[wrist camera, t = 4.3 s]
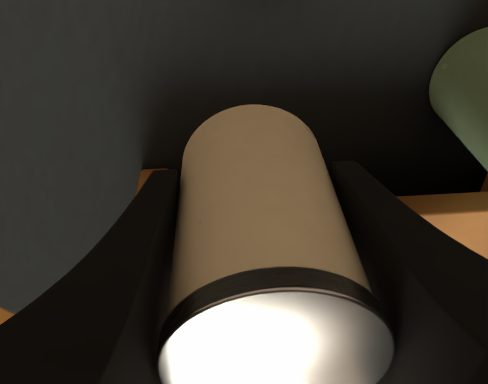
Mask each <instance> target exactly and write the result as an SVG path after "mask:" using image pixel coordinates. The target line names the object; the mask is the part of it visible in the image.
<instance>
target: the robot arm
mask: <svg viewBox="0 0 488 384" xmlns="http://www.w3.org/2000/svg"><path fill="white" fill-rule="evenodd" d="M330 178H331V181H332V184H333V187H334V189H335V192H336V195H337V198H338V200H339V203H340V206H341V208H342V211H343V214H344V217H345V219H346V222H347V225H348V228H349V230H350V233H351V236H352V238H353V241H354V244H355V247H356V249H357V252H358V255H359V258H360V260H361V263H362V266H363V268H364V271H365V274H366V277H367V279H368V282H369V285H370V288H371V290H372V293H373V295H374V296H375V297H376V298H377V299H378V301H379V302H380V303H381V304H382V306H383V308H384V310H385V312H386V314H387V317H388V320H389V322H390V325H391V328H392V330H393V334H394V338H395V353H394V358H393V361H392V363H391V365H390V368H389V369H388V371H387V372H386V374H385V375H384V376H383V378H382V379H381V380H380V381H379V382H378V383H377V384H488V259H487V258H485V257H483V256H481V255H480V254H478V253H476V252H474V251H473V250H471V249H469V248H468V247H466V246H464V245H463V244H461V243H460V242H458V241H456V240H455V239H453V238H452V237H450V236H448V235H447V234H445V233H444V232H442V231H441V230H439V229H438V228H436V227H435V226H434V225H432V224H431V223H430V222H428V221H427V220H426V219H424V218H423V217H421V216H420V215H419V214H417V213H416V212H415V211H413V210H412V209H411V208H410V207H408V206H407V205H406V204H405V203H403V202H402V201H401V200H400V199H398V198H397V197H396V196H395V195H394V194H393V193H391V192H390V191H389V190H388V189H387V188H386V187H384V186H383V185H382V184H381V183H380V182H379V181H378V180H376V179H375V178H374V177H373V176H372V175H371V174H370V173H369V172H367V171H366V170H365V169H364V168H363V167H362V166H361V165H359V164H358V163H357V162H356V161H355V160H352V161H332V165H331V173H330ZM179 190H180V187H179V180H178V173H177V169H169V170H154V171H153V172H152V173H151V174H150V175H149V177H148V178H147V180H146V181H145V183H144V184H143V186H142V187H141V189H140V190H139V192H138V193H137V195H136V196H135V197H134V199H133V200H132V202H131V203H130V204H129V206H128V207H127V208H126V210H125V211H124V212H123V213H122V215H121V216H120V217H119V219H118V220H117V221H116V222H115V224H114V225H113V226H112V227H111V228H110V229H109V231H108V232H107V233H106V234H105V235H104V236H103V238H102V239H101V240H100V241H99V242H98V243H97V244H96V246H95V247H94V248H93V249H92V250H91V251H90V252H89V253H88V254H87V255H86V256H85V257H84V258H83V259H82V260H81V261H80V262H79V263H78V264H77V265H76V266H75V267H74V268H73V269H72V270H70V271H69V272H68V273H67V274H66V275H65V276H64V277H62V278H61V279H60V280H59V281H58V282H56V283H55V284H54V285H53V286H52V287H50V288H49V289H48V290H47V291H46V292H44V293H43V294H42V295H41V296H39V297H38V298H37V299H36V300H34V301H33V302H32V303H30V304H29V305H28V306H26V307H25V308H24V309H22V310H21V311H19V312H18V313H17V314H15V315H14V316H12V317H11V318H9V319H8V320H7V321H5V322H4V323H2V324H1V325H0V384H161V382H160V379H159V377H158V374H157V369H156V357H157V348H158V339H159V334H160V331H161V327H162V325H163V323H164V322H165V320H166V316H167V307H168V297H169V287H170V278H171V268H172V258H173V249H174V239H175V229H176V219H177V210H178V200H179Z"/></svg>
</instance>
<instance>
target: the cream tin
mask: <svg viewBox="0 0 488 384" xmlns="http://www.w3.org/2000/svg"><path fill="white" fill-rule="evenodd" d="M394 353H395V338H394V334H393V330H392V328H391V325H390V322H389V320H388V317H387V314H386V312H385V310H384V308H383V306H382V304H381V303H380V302H379V301H378V299H377V298H376V297H375V296H374V295H373V293H372V290H371V288H370V285H369V282H368V279H367V277H366V274H365V271H364V268H363V266H362V263H361V260H360V258H359V255H358V252H357V249H356V247H355V244H354V241H353V238H352V236H351V233H350V230H349V228H348V225H347V222H346V219H345V217H344V214H343V211H342V208H341V206H340V203H339V200H338V198H337V195H336V192H335V189H334V187H333V184H332V181H331V178H330V176H329V173H328V170H327V168H326V165H325V162H324V159H323V157H322V154H321V151H320V148H319V146H318V143H317V141H316V139H315V137H314V135H313V133H312V132H311V130H310V129H309V128H308V127H307V126H306V124H305V123H304V122H302V121H301V120H300V119H299V118H297V117H296V116H294V115H293V114H291V113H289V112H287V111H284V110H282V109H280V108H276V107H272V106H267V105H253V104H250V105H241V106H237V107H232V108H229V109H226V110H224V111H221V112H219V113H217V114H215V115H214V116H212V117H211V118H209V119H208V120H206V121H205V122H204V123H203V124H201V125H200V126H199V127H198V128H197V130H196V131H195V132H194V133H193V134H192V136H191V138H190V139H189V141H188V143H187V145H186V147H185V151H184V154H183V161H182V171H181V181H180V190H179V200H178V210H177V219H176V229H175V239H174V249H173V258H172V268H171V278H170V287H169V297H168V307H167V316H166V320H165V322H164V323H163V325H162V327H161V331H160V334H159V339H158V348H157V357H156V369H157V374H158V377H159V379H160V382H161V384H377V383H378V382H379V381H380V380H381V379H382V378H383V376H384V375H385V374H386V372H387V371H388V369H389V368H390V365H391V363H392V361H393V358H394Z"/></svg>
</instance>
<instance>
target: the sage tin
mask: <svg viewBox="0 0 488 384" xmlns="http://www.w3.org/2000/svg"><path fill="white" fill-rule="evenodd" d="M429 98H430V102H431V105H432V108H433V109H434V111H435V112H436V114H437V115H438V116H439V117H440V118H441V119H442V120H443V122H444V123H445V124H446V125H447V126H448V127H449V128H450V129H451V131H452V132H453V133H454V134H455V135H456V136H457V137H458V139H459V140H460V141H461V142H462V143H463V144H464V145H465V146H466V148H467V149H468V150H469V151H470V152H471V153H472V154H473V156H474V157H475V158H476V159H477V160H478V161H479V162H480V163H481V165H482V166H483V167H484V168H485V169H486V170H487V171H488V27H486V28H482V29H479V30H476V31H474V32H472V33H470V34H468V35H467V36H465V37H463V38H462V39H460V40H459V41H458V42H456V43H455V44H454V45H453V46H452V47H451V48H450V49H449V50H448V51H447V52H446V53H445V54H444V55H443V57H442V58H441V59H440V61H439V62H438V64H437V66H436V67H435V69H434V72H433V74H432V77H431V80H430V85H429Z"/></svg>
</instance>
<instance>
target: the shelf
mask: <svg viewBox="0 0 488 384" xmlns="http://www.w3.org/2000/svg"><path fill="white" fill-rule="evenodd" d="M154 170H168V168H162V169H143V170H141V173H140V177H139V182H138V186H137V191H136V195H137V193H138V192H139V190H140V189H141V187H142V186H143V184H144V183H145V181H146V180H147V178H148V177H149V175H150V174H151V173H152V172H153V171H154ZM136 195H135V196H136ZM397 198H398V199H400V200H401V201H402V202H403V203H405V204H406V205H407V206H408V207H410V208H411V209H412V210H413V211H415V212H416V213H417V214H419V215H420V216H421V217H423V218H424V219H426V220H427V221H428V222H430V223H431V224H432V225H434V226H435V227H436V228H438V229H439V230H441V231H442V232H444V233H445V234H447V235H448V236H450V237H452V238H453V239H455V240H456V241H458V242H460V243H461V244H463V245H464V246H466V247H468V248H469V249H471V250H473V251H474V252H476V253H478V254H480V255H481V256H483V257H485V258H487V259H488V173H487V176H486V178H485V181H484V183H483V186H482V188H481V191H480V192H469V193H451V194H433V195H415V196H397Z"/></svg>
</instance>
